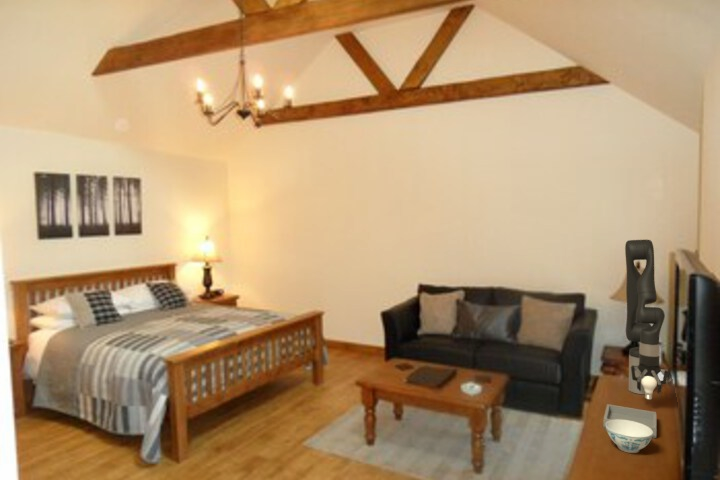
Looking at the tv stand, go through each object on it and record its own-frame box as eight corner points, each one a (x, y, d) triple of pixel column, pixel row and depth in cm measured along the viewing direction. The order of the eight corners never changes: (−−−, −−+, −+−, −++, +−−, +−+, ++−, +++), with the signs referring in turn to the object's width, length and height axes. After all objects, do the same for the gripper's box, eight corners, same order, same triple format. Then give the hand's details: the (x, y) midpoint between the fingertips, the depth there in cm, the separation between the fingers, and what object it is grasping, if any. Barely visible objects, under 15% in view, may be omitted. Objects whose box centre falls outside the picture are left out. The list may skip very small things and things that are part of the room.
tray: (607, 413, 211) (607, 404, 210) (656, 421, 201) (656, 412, 201) (603, 428, 195) (603, 418, 195) (656, 438, 186) (656, 428, 186)
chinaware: (599, 448, 178) (599, 428, 178) (613, 435, 189) (613, 416, 188) (645, 463, 168) (645, 440, 167) (657, 448, 178) (658, 427, 178)
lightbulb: (641, 400, 211) (642, 375, 210) (638, 395, 217) (639, 371, 216) (658, 403, 208) (659, 377, 208) (655, 397, 214) (656, 373, 214)
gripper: (668, 353, 211) (668, 391, 212) (630, 349, 218) (630, 386, 219) (669, 357, 204) (668, 397, 205) (630, 353, 211) (629, 391, 212)
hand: (648, 391), depth 212 cm, fingers closed on lightbulb, 6 cm apart
